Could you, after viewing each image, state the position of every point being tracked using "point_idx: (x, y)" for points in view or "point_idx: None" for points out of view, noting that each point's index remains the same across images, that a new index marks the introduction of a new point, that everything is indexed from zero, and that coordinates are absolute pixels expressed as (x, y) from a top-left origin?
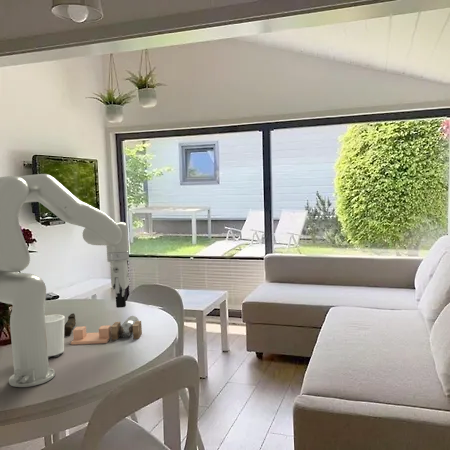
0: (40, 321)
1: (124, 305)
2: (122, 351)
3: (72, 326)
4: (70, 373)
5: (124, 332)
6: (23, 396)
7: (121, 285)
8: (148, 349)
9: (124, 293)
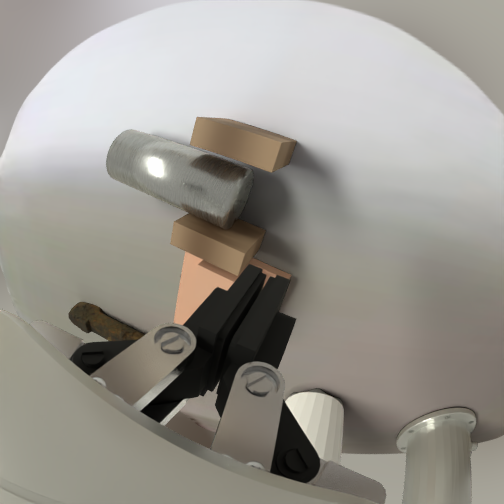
0: None
1: (285, 290)
2: (426, 241)
3: (128, 333)
4: (473, 384)
5: (239, 201)
6: (490, 429)
7: None
8: (460, 140)
9: (189, 352)
